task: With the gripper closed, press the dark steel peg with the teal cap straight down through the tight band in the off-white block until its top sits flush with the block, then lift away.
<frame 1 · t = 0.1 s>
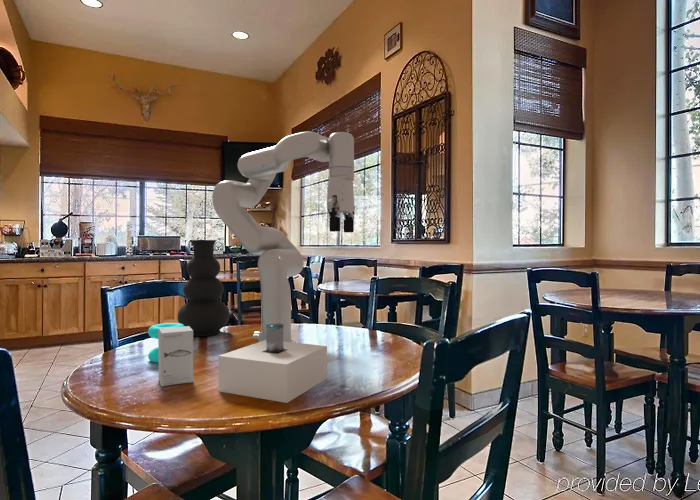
hand: (342, 231, 131), 37 cm above the table, tool pointing down, fingers open, 9 cm apart
supplement box: (175, 381, 105), on the table
donuts: (167, 360, 126), on the table
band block: (275, 384, 102), on the table
peg: (275, 341, 102), point 10 cm above the table, slide at 6.0 cm
vase: (204, 334, 161), on the table
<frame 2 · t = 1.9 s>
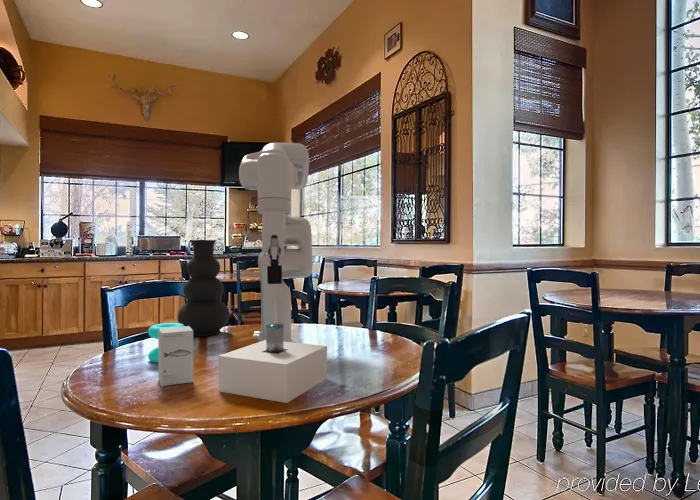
hand: (274, 281, 102), 24 cm above the table, tool pointing down, fingers open, 8 cm apart
nothing on the table moved.
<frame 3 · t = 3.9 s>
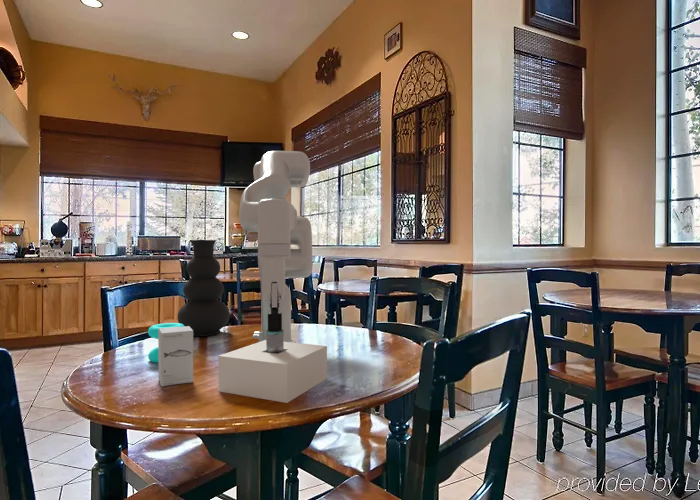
hand: (274, 330, 101), 13 cm above the table, tool pointing down, fingers closed
peg: (275, 346, 102), point 9 cm above the table, slide at 4.7 cm, touching gripper
everything else where it was.
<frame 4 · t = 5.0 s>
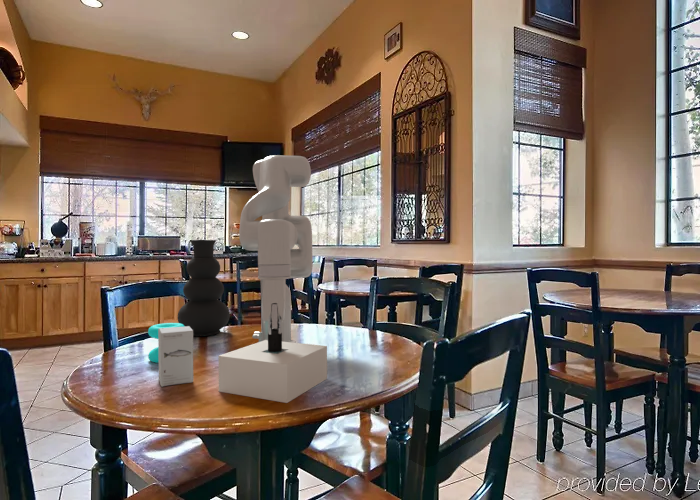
hand: (275, 350, 102), 8 cm above the table, tool pointing down, fingers closed
peg: (275, 366, 102), point 4 cm above the table, slide at 0.0 cm, touching gripper
everything else where it was.
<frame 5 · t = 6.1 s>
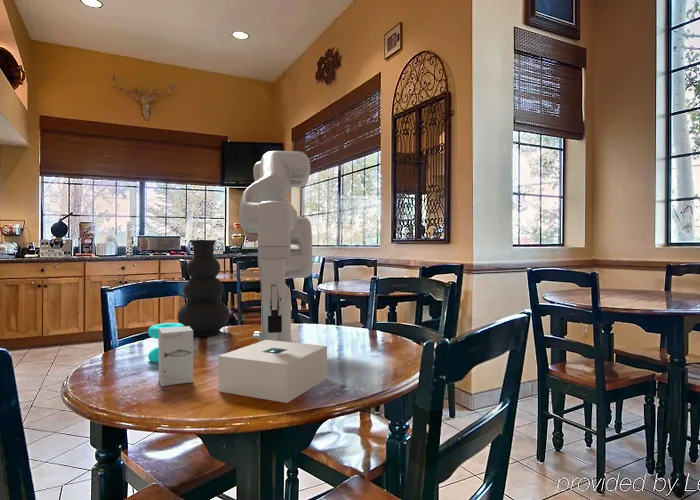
hand: (274, 331, 102), 12 cm above the table, tool pointing down, fingers closed
peg: (275, 366, 102), point 4 cm above the table, slide at 0.0 cm
everything else where it was.
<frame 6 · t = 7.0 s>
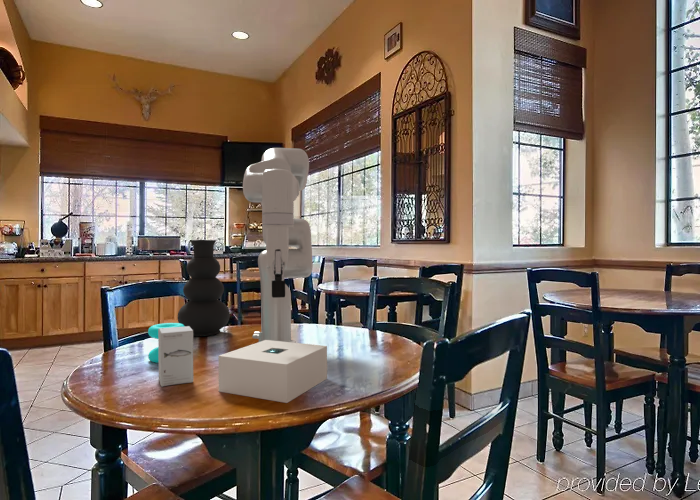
hand: (278, 296, 105), 20 cm above the table, tool pointing down, fingers closed
nothing on the table moved.
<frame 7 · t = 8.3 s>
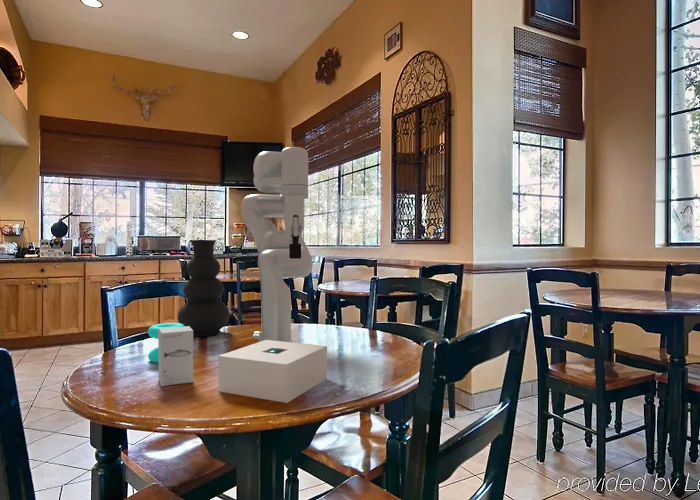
hand: (295, 258, 121), 29 cm above the table, tool pointing down, fingers closed
nothing on the table moved.
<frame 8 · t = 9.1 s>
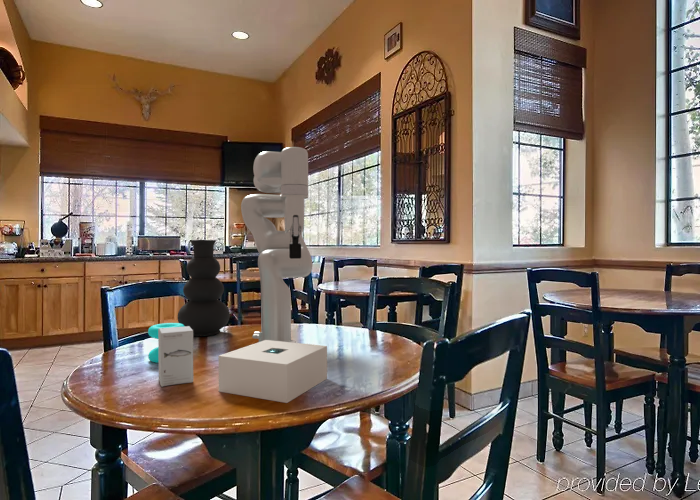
hand: (295, 258, 121), 29 cm above the table, tool pointing down, fingers closed
nothing on the table moved.
at the end: peg slide at 0.0 cm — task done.
